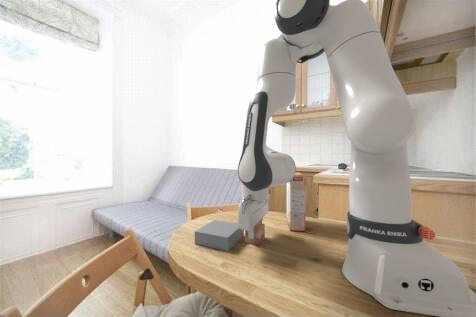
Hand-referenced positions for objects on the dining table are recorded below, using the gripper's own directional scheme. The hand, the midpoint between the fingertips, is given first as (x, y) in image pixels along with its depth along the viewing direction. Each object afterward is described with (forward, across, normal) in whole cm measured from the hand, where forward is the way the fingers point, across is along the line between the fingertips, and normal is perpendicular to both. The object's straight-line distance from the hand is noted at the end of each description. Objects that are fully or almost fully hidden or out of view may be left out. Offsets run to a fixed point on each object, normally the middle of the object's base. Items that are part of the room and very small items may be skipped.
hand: (255, 234), depth 64 cm
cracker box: (+2, +20, -10) cm, 22 cm away
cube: (+2, 0, 0) cm, 2 cm away
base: (+2, -4, +11) cm, 12 cm away
